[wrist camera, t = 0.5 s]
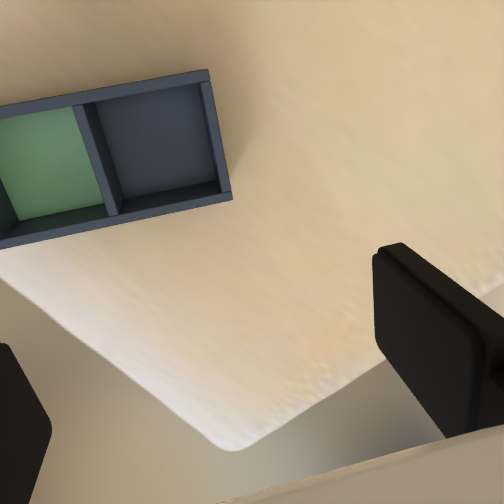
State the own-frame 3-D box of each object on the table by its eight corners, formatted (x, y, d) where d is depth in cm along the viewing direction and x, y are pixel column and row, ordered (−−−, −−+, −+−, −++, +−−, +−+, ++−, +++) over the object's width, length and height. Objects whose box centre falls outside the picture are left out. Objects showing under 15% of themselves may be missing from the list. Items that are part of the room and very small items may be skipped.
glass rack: (-37, 112, 31) (-72, 119, 27) (203, 69, 33) (208, 68, 29) (16, 228, 36) (-7, 251, 31) (226, 184, 38) (233, 200, 33)
